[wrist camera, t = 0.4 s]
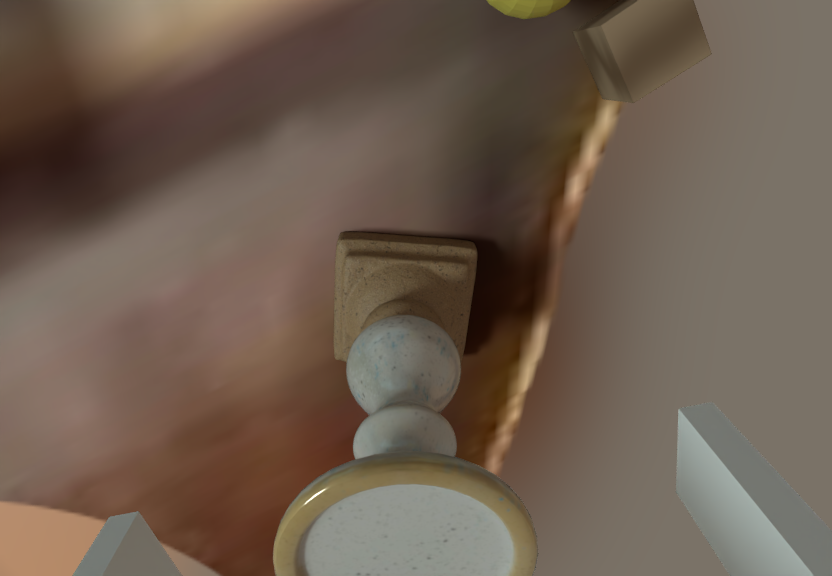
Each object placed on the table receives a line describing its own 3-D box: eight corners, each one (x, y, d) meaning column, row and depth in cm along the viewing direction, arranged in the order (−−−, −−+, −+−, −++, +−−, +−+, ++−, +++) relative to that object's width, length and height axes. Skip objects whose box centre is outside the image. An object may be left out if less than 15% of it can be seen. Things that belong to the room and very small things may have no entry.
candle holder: (476, 240, 38) (580, 465, 16) (459, 357, 42) (522, 656, 21) (338, 229, 37) (253, 451, 16) (335, 349, 42) (266, 651, 20)
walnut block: (572, 32, 32) (601, 25, 28) (641, -15, 31) (683, -30, 27) (602, 99, 34) (633, 103, 29) (668, 56, 33) (711, 54, 28)
